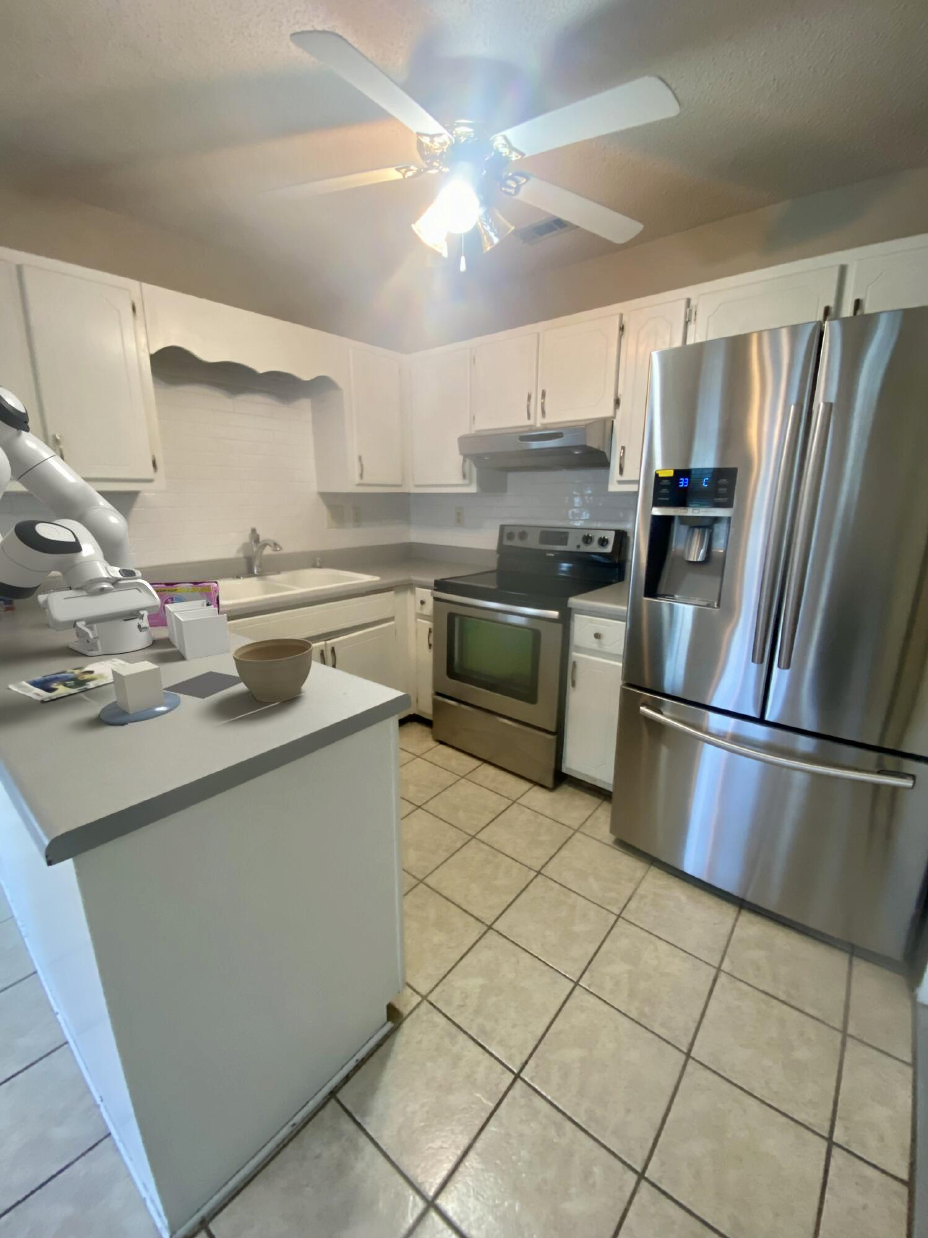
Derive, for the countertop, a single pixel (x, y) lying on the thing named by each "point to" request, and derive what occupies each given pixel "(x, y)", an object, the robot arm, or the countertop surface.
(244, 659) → the planter bowl
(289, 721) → the countertop surface
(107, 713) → the plate
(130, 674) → the white rectangular block
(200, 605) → the storage container
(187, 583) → the gum box
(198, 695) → the mat
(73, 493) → the robot arm
